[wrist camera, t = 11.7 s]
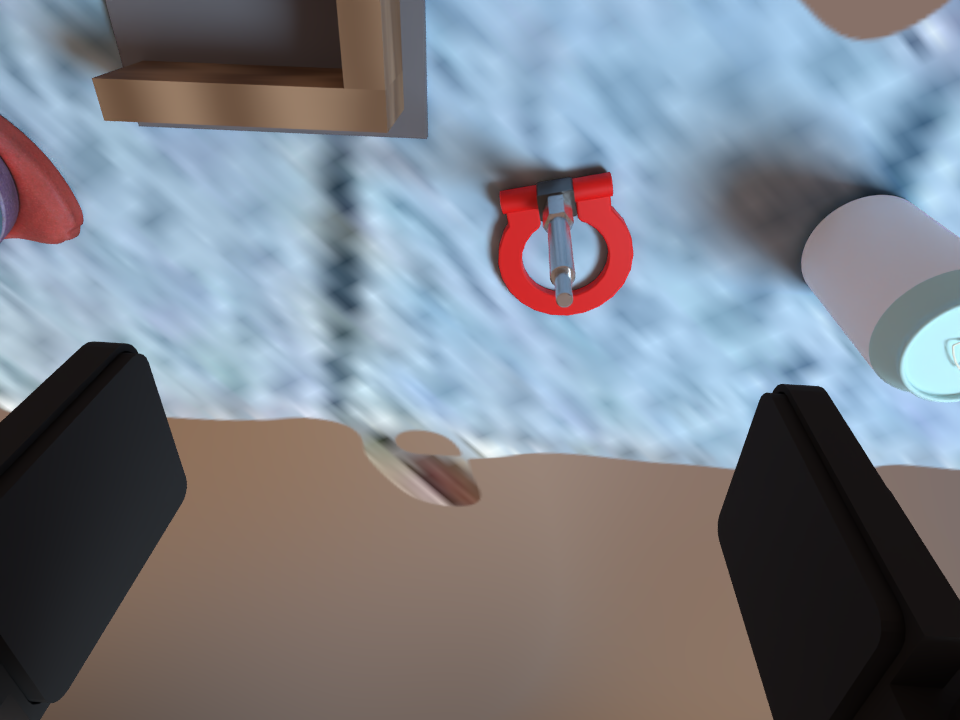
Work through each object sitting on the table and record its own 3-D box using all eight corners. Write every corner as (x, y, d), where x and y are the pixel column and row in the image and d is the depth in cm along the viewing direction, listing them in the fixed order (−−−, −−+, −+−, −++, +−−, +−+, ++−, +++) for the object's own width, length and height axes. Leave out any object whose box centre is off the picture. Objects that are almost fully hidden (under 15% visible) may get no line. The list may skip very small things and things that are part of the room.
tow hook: (634, 297, 43) (625, 163, 37) (668, 429, 32) (661, 270, 27) (511, 314, 44) (484, 187, 39) (505, 446, 34) (468, 298, 28)
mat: (422, -122, 30) (421, -123, 30) (427, 136, 37) (426, 138, 37) (76, -131, 31) (70, -132, 31) (143, 123, 38) (138, 126, 37)
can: (844, 173, 37) (960, 264, 27) (948, 214, 38) (1097, 315, 28) (774, 276, 41) (853, 389, 31) (870, 310, 42) (976, 430, 32)
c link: (396, -86, 31) (375, -88, 27) (404, 109, 36) (387, 133, 32) (104, -95, 31) (39, -98, 27) (152, 98, 36) (104, 120, 32)
